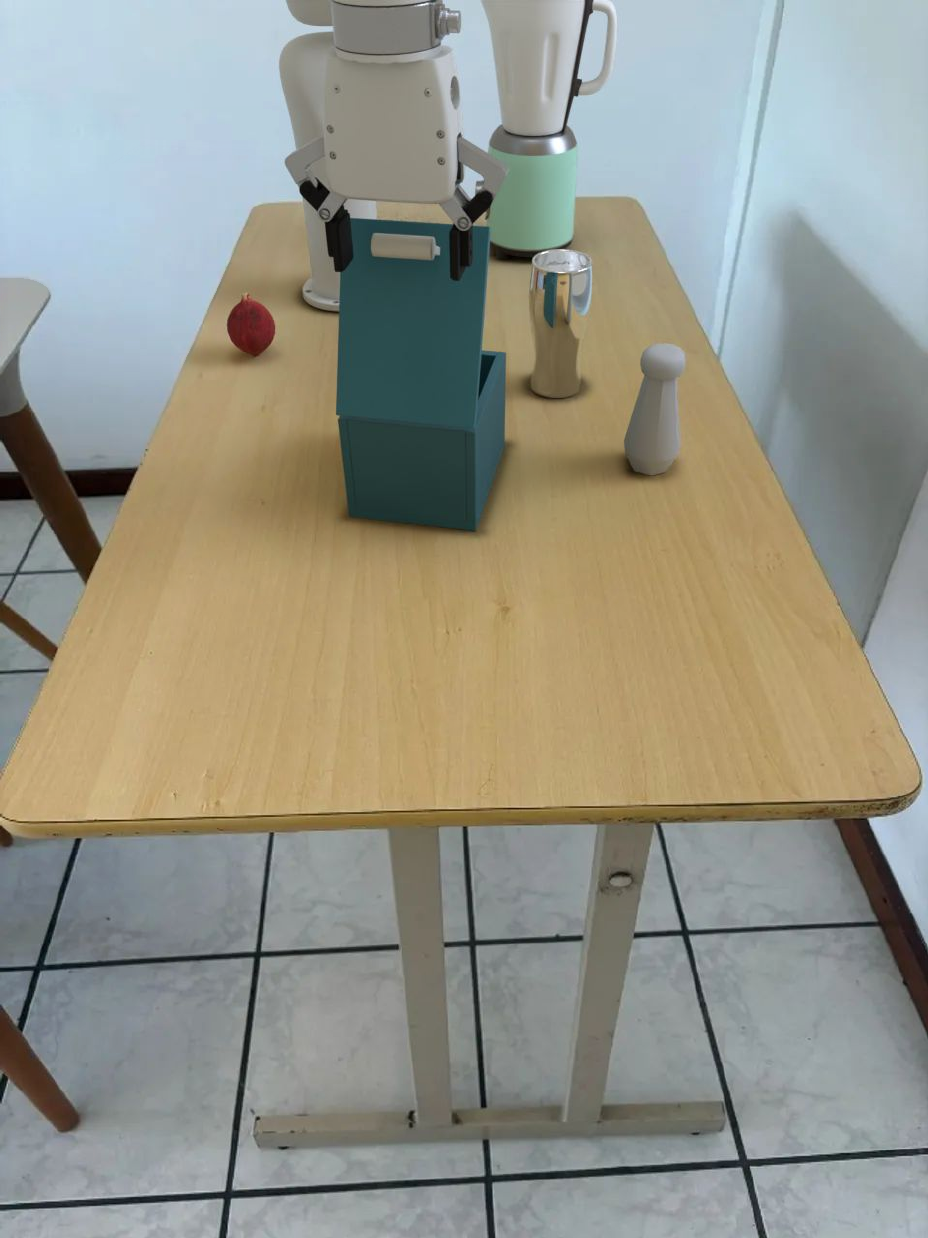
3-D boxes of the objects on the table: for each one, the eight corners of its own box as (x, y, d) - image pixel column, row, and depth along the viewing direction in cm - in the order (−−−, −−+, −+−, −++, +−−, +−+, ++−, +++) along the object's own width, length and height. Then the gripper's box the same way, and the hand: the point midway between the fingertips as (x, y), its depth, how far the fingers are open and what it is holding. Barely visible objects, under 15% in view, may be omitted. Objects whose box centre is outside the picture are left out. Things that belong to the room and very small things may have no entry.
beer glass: (581, 403, 110) (591, 275, 100) (521, 397, 111) (525, 270, 101) (587, 374, 115) (597, 249, 105) (530, 369, 116) (535, 246, 106)
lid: (344, 217, 82) (325, 211, 77) (491, 227, 80) (480, 220, 75) (338, 414, 87) (319, 419, 82) (476, 427, 85) (465, 433, 80)
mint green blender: (470, 263, 141) (468, -19, 118) (477, 230, 151) (476, -36, 128) (600, 266, 140) (624, -19, 116) (598, 233, 150) (620, -36, 126)
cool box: (390, 434, 106) (383, 341, 99) (504, 445, 104) (506, 351, 96) (348, 516, 94) (337, 419, 87) (475, 531, 92) (475, 432, 85)
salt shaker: (680, 454, 102) (698, 339, 93) (674, 483, 98) (693, 366, 89) (625, 446, 103) (638, 332, 95) (617, 475, 99) (630, 359, 90)
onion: (284, 361, 119) (274, 299, 114) (238, 369, 118) (226, 307, 112) (273, 341, 123) (263, 280, 118) (228, 350, 122) (217, 288, 116)
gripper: (518, 20, 68) (513, 259, 80) (287, 13, 71) (314, 245, 82) (499, 43, 63) (496, 297, 74) (250, 35, 65) (285, 280, 77)
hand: (401, 269), depth 78 cm, fingers open, 9 cm apart
